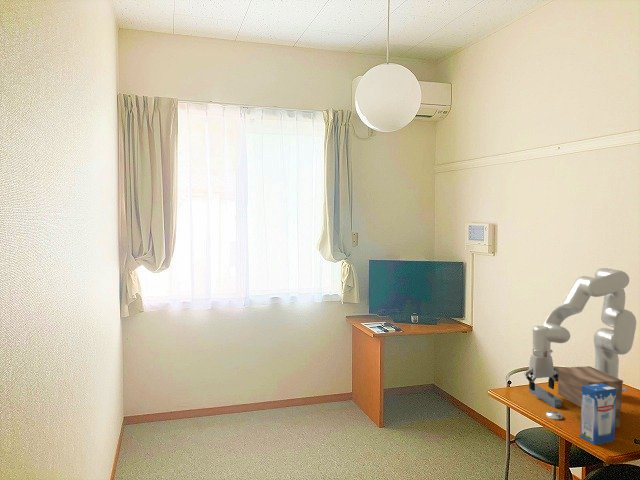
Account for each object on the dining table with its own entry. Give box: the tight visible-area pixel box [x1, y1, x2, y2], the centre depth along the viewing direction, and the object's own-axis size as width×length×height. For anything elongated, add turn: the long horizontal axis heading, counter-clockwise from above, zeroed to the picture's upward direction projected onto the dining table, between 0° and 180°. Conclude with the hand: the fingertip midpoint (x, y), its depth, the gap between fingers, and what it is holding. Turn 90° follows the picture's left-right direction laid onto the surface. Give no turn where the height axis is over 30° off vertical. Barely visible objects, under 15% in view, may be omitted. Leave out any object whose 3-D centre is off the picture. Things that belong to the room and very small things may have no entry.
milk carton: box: [579, 383, 616, 446], centre depth 181 cm, size 10×6×20 cm, turn 108°
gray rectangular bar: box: [528, 383, 562, 409], centre depth 221 cm, size 3×20×4 cm, turn 8°
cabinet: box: [557, 366, 624, 429], centre depth 199 cm, size 15×19×19 cm
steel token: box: [545, 410, 563, 421], centre depth 202 cm, size 6×6×2 cm
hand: (541, 389), depth 224 cm, fingers open, 9 cm apart
